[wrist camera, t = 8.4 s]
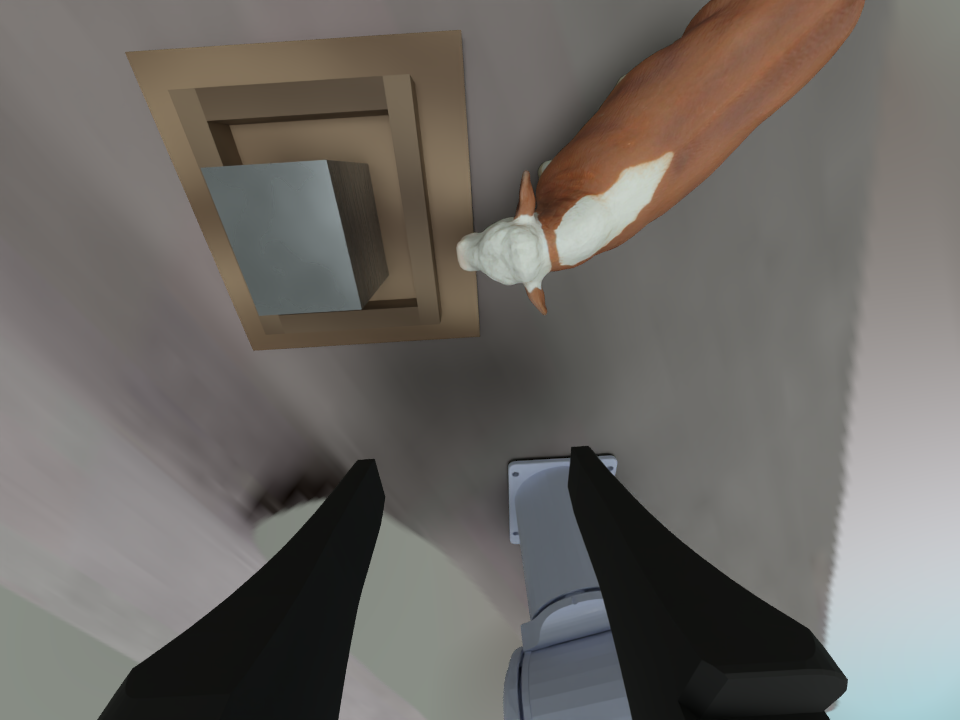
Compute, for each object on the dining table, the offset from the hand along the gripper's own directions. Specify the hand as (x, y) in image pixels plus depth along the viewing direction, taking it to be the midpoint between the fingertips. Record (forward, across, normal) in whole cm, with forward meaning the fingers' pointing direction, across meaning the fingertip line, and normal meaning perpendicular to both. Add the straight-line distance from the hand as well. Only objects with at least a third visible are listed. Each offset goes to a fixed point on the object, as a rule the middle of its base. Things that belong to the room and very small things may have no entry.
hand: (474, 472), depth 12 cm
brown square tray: (+9, +6, -8) cm, 14 cm away
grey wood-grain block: (+9, +6, -8) cm, 13 cm away
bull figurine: (+10, -6, -10) cm, 15 cm away
